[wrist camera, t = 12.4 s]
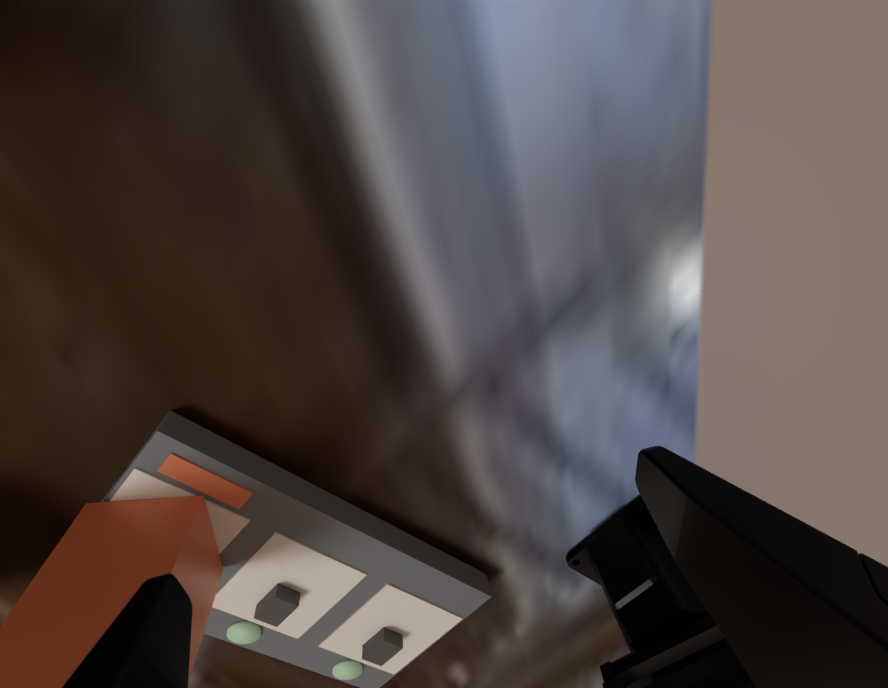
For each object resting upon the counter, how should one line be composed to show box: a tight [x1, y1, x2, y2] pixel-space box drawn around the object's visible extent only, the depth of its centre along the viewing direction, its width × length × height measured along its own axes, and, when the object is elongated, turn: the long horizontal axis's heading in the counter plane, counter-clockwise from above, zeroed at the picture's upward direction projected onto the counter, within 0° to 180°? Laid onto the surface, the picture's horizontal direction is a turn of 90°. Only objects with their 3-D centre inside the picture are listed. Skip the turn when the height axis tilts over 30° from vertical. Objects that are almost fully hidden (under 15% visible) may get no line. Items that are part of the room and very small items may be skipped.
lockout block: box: [0, 495, 223, 688], centre depth 19 cm, size 5×5×10 cm
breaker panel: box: [101, 410, 491, 688], centre depth 27 cm, size 20×11×2 cm, turn 49°
